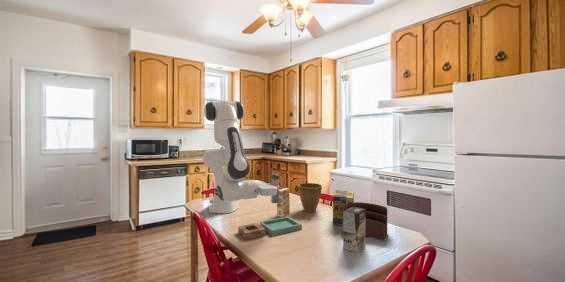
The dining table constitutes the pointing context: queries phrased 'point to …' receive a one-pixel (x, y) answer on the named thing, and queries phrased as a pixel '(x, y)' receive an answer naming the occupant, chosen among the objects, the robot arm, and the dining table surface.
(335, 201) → the protein box
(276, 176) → the spice jar
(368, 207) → the letter holder
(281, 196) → the candy box
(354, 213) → the coffee box
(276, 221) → the tray
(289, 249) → the dining table surface
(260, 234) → the socket block
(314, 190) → the plant pot
